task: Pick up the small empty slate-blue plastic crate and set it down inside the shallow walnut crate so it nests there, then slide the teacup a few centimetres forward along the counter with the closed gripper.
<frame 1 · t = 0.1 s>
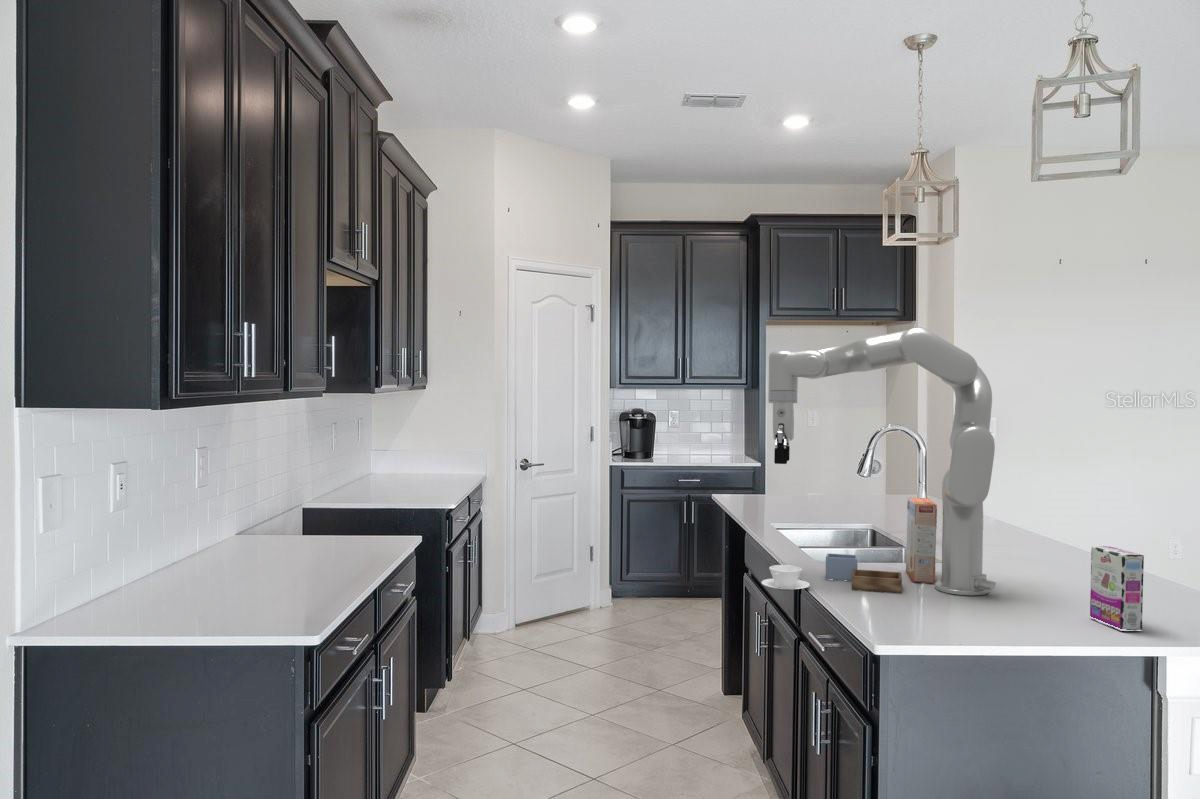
hand: (782, 462, 239), 31 cm above the countertop, tool pointing down, fingers open, 9 cm apart
walnut crate: (876, 587, 230), on the countertop
candy bar box: (1115, 626, 196), on the countertop
teacup: (785, 589, 229), on the countertop
cracker box: (920, 578, 243), on the countertop
slate crate: (841, 578, 241), on the countertop
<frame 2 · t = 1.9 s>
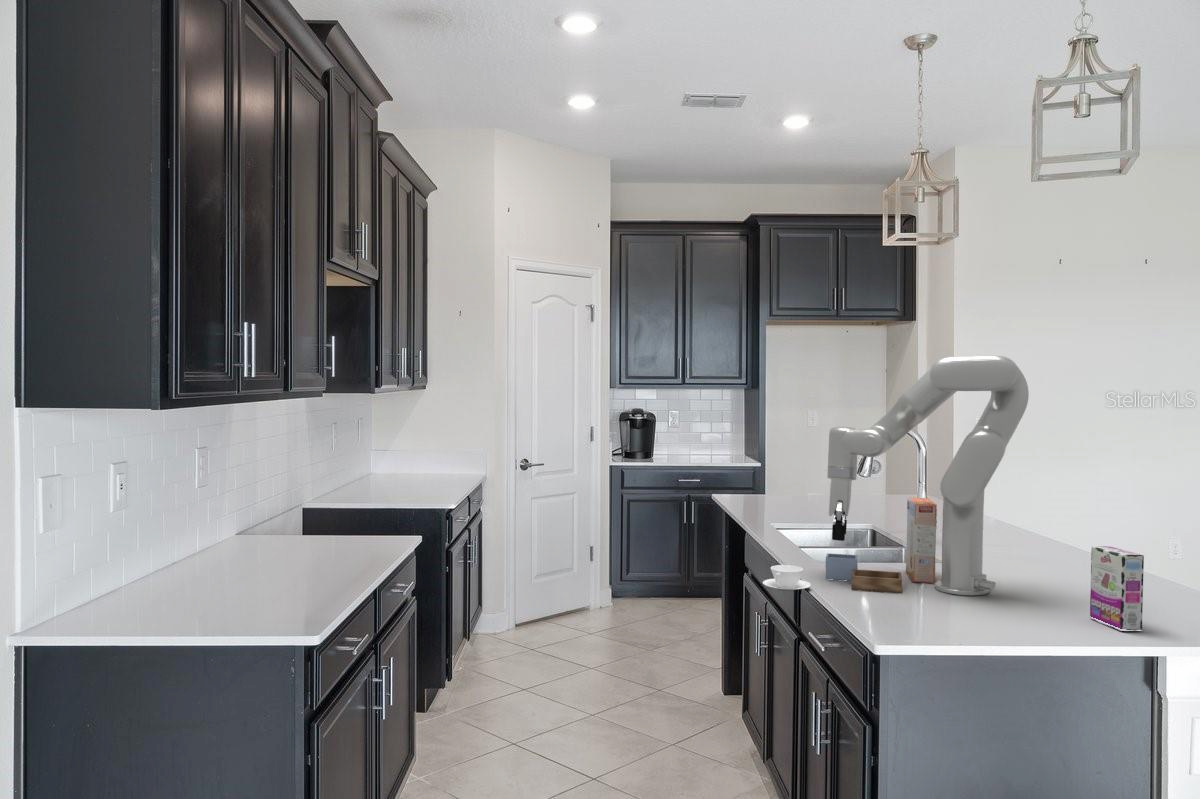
hand: (839, 537, 241), 11 cm above the countertop, tool pointing down, fingers open, 9 cm apart
nothing on the countertop moved.
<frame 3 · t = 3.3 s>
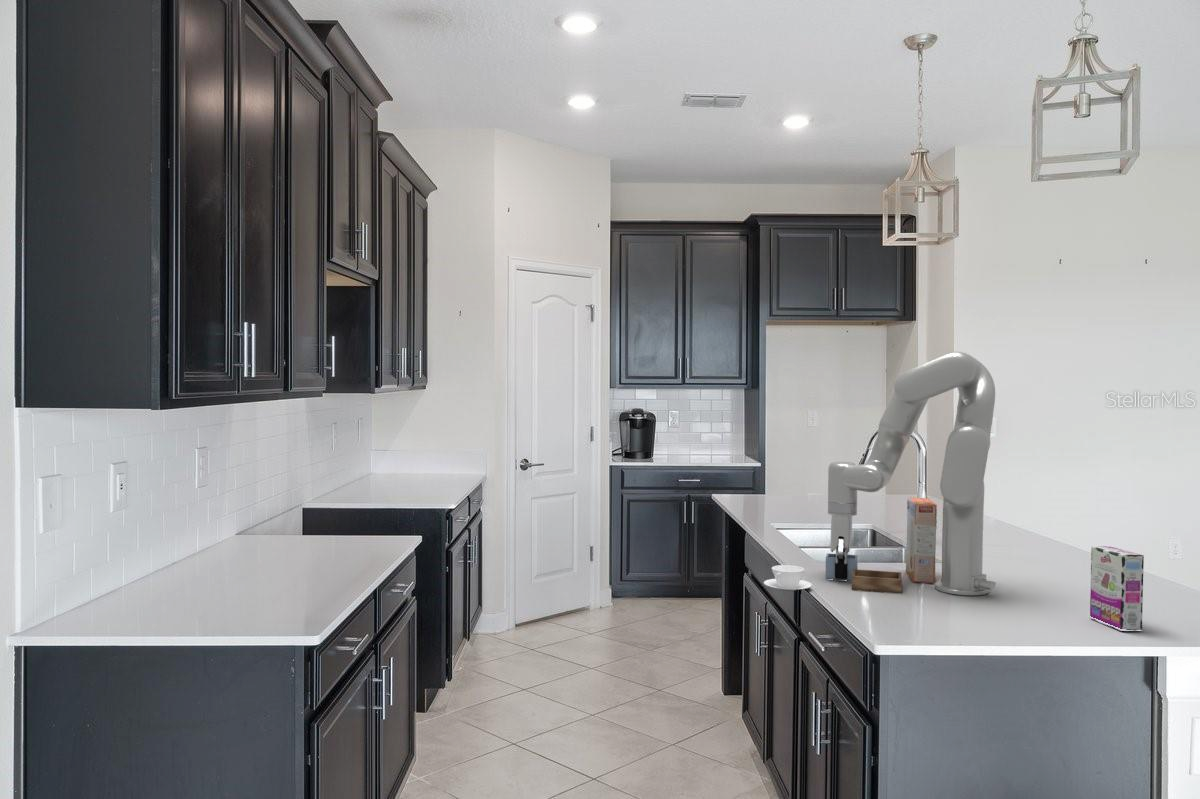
hand: (841, 575, 241), 1 cm above the countertop, tool pointing down, fingers closed on slate crate, 5 cm apart
slate crate: (841, 578, 241), on the countertop, touching gripper
everything else where it was.
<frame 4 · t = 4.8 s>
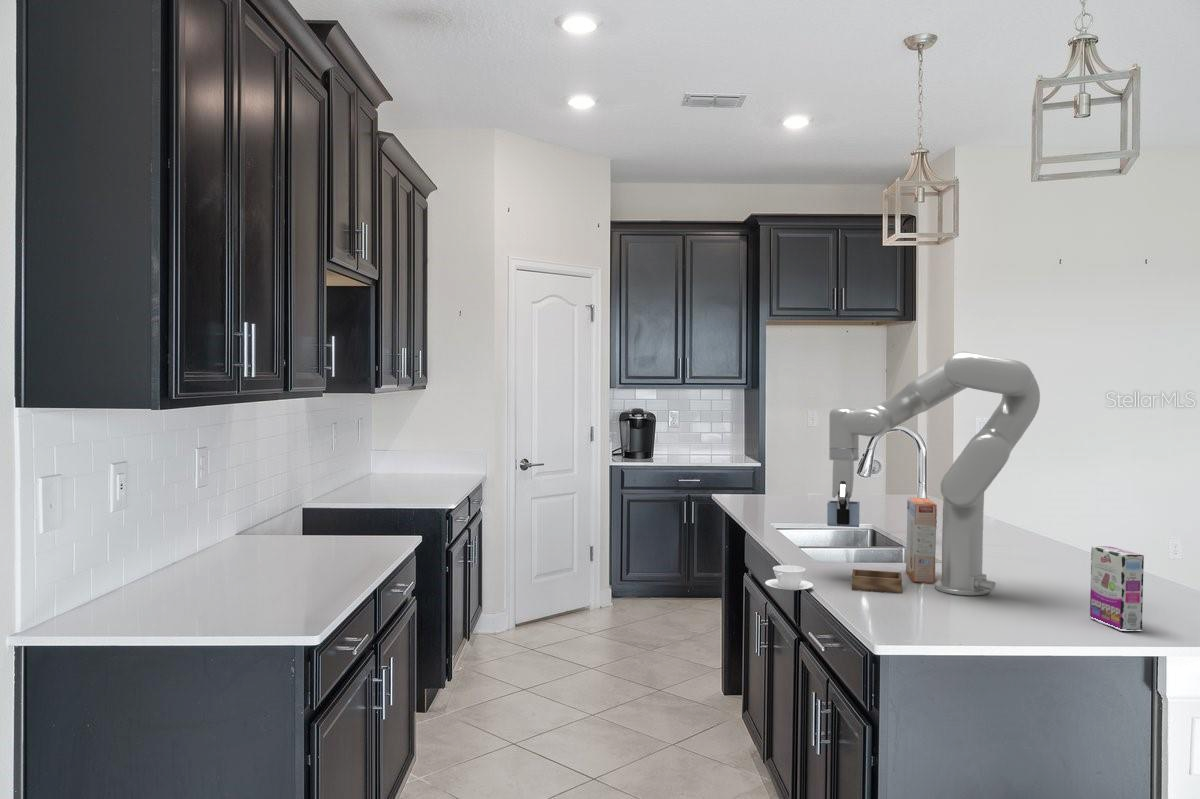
hand: (843, 521, 240), 15 cm above the countertop, tool pointing down, fingers closed on slate crate, 5 cm apart
slate crate: (843, 524, 240), point 14 cm above the countertop, touching gripper
everything else where it was.
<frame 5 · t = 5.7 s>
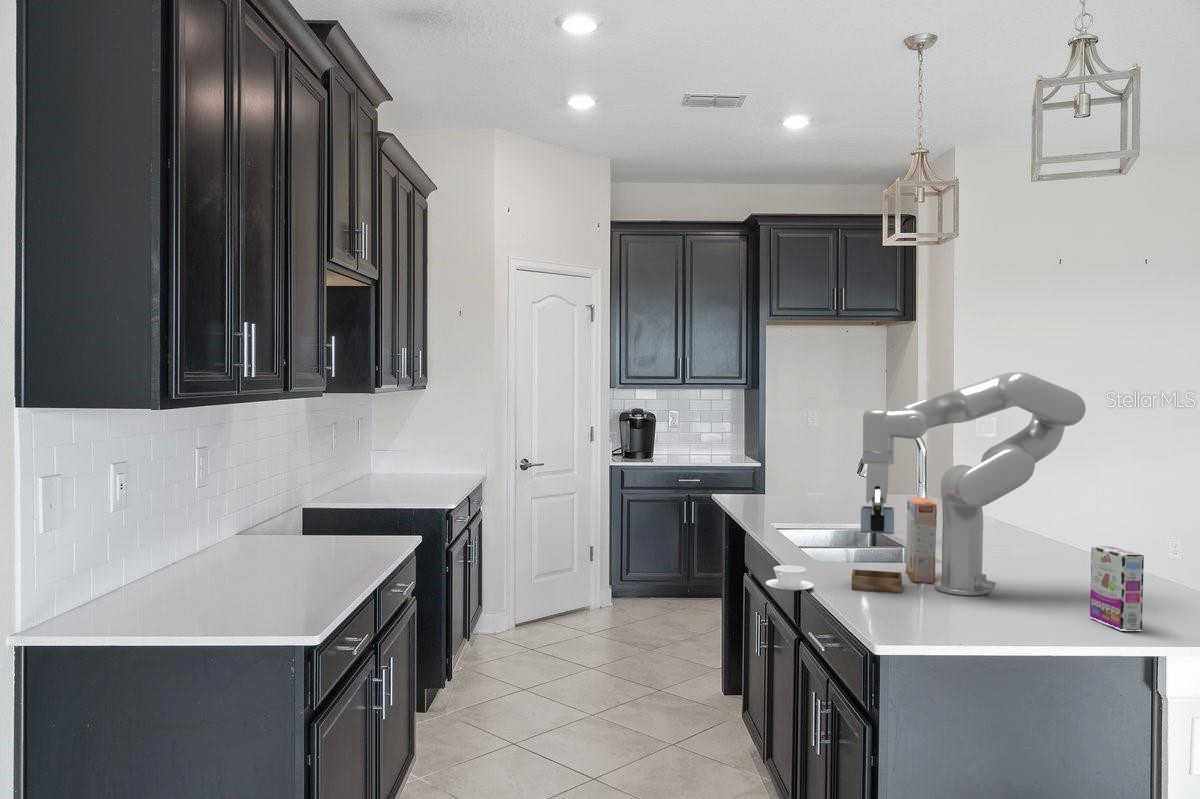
hand: (877, 528, 230), 15 cm above the countertop, tool pointing down, fingers closed on slate crate, 5 cm apart
slate crate: (877, 531, 230), point 14 cm above the countertop, touching gripper
when the fingers open (4 cm above the countertop, at t = 8.1 s): slate crate drops 3 cm, resting on walnut crate.
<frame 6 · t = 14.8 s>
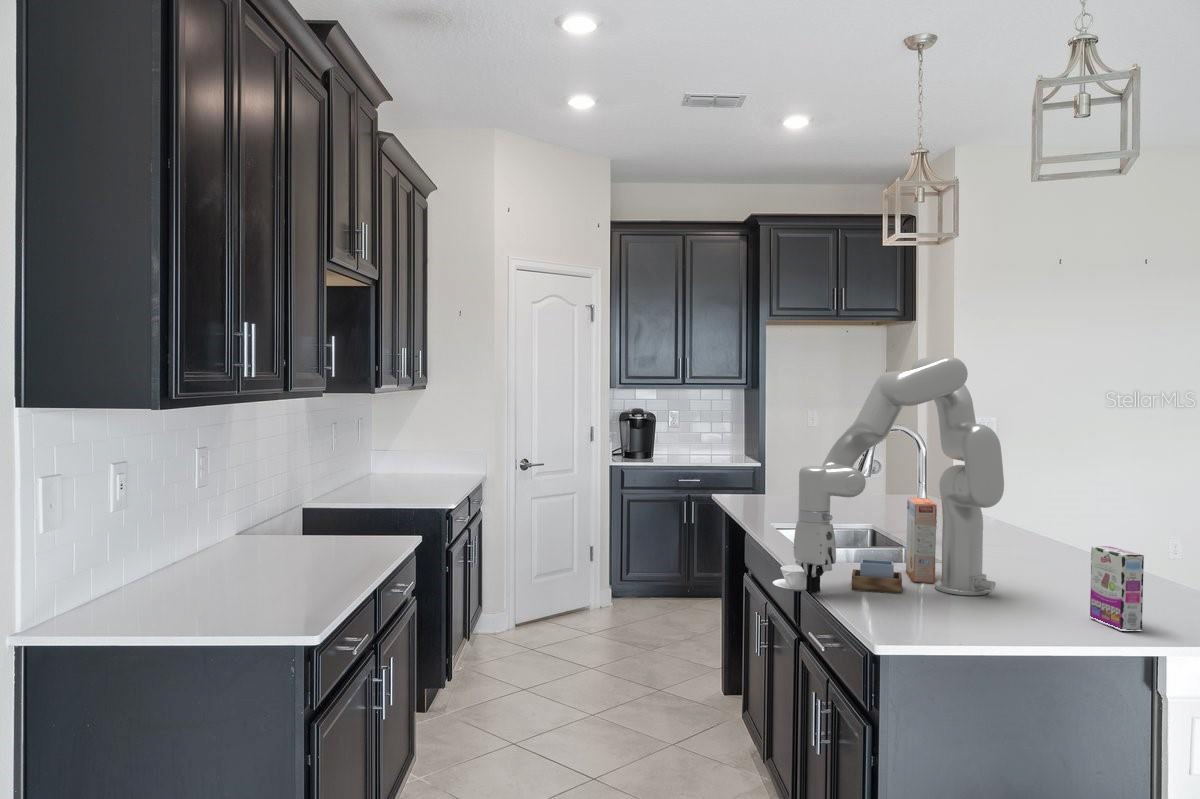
hand: (813, 591, 221), 1 cm above the countertop, tool pointing down, fingers closed
teacup: (796, 589, 228), on the countertop, touching gripper
slate crate: (876, 585, 230), point 1 cm above the countertop, touching walnut crate
everything else where it was.
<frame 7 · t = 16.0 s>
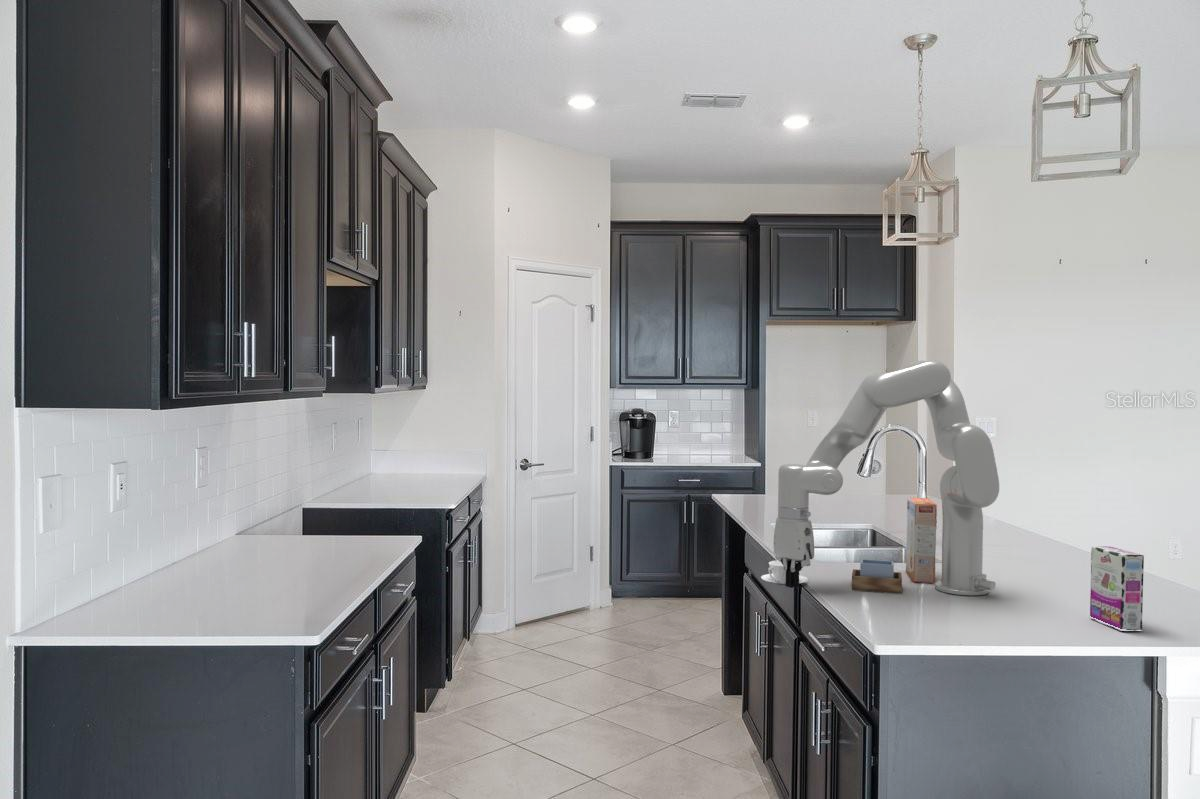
hand: (792, 586, 227), 1 cm above the countertop, tool pointing down, fingers closed
teacup: (784, 584, 235), on the countertop, touching gripper
everything else where it was.
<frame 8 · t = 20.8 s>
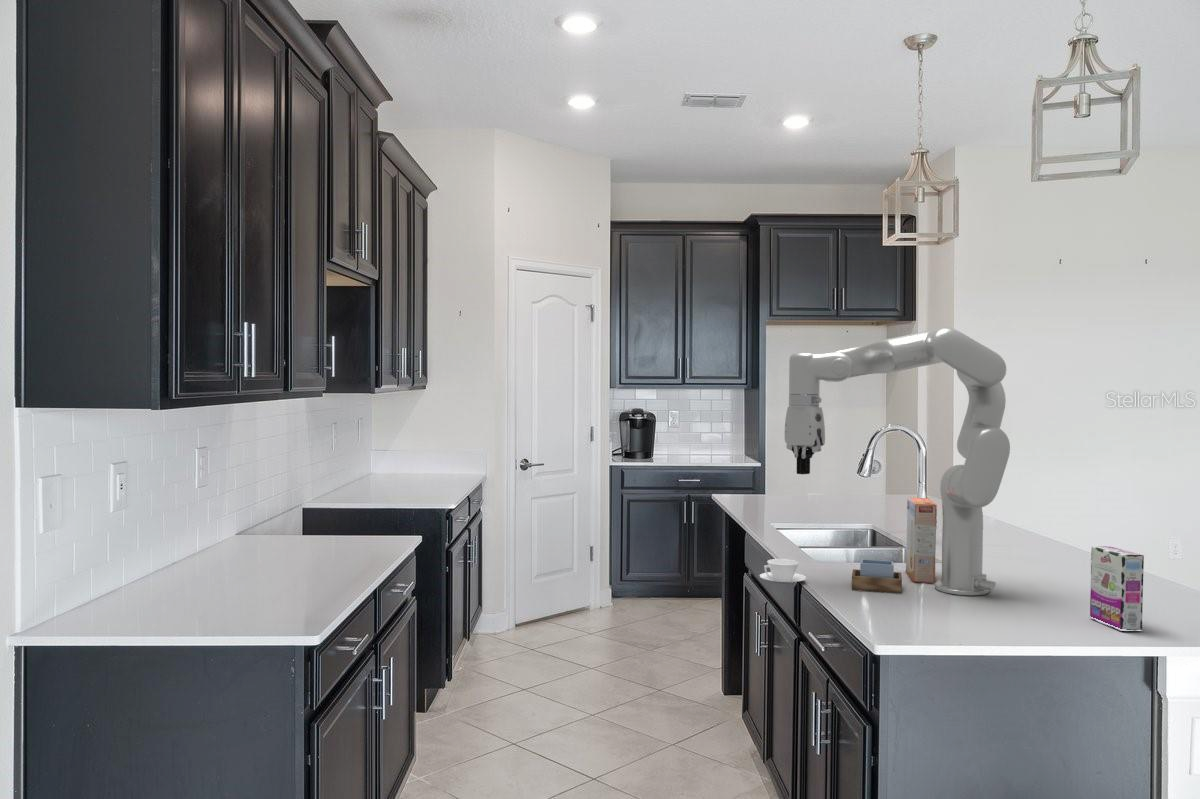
hand: (803, 473, 229), 29 cm above the countertop, tool pointing down, fingers closed
teacup: (782, 582, 237), on the countertop
everything else where it was.
at the end: slate crate 0.0 cm off-centre on the walnut crate, point 0.6 cm above the walnut crate's base; slate crate tilted 0°; teacup moved 8.0 cm from its start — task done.
